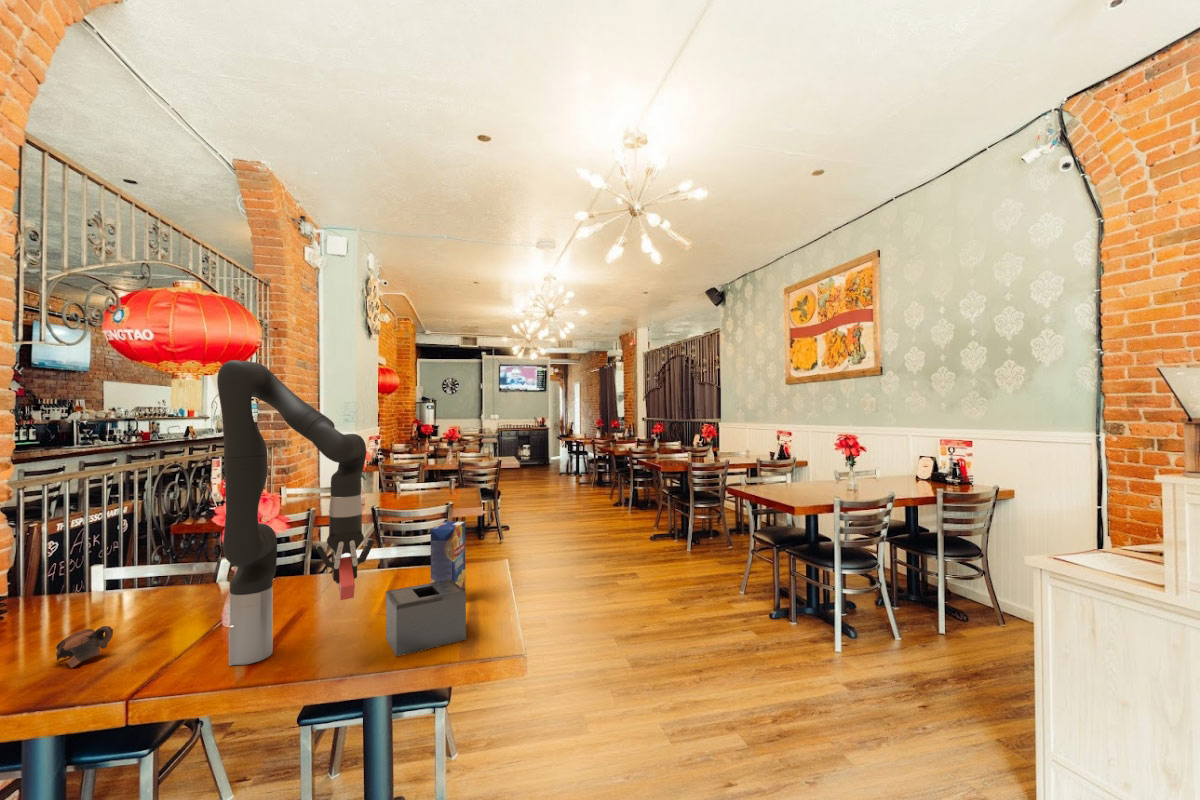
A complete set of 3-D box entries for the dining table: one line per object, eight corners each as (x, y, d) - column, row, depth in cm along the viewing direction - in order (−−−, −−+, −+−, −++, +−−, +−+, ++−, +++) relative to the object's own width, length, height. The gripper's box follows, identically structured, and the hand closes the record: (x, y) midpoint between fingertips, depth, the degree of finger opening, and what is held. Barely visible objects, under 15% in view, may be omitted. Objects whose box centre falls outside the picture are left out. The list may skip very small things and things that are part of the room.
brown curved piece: (55, 678, 128) (40, 651, 130) (83, 678, 137) (69, 652, 139) (109, 640, 133) (94, 614, 135) (133, 643, 141) (119, 618, 144)
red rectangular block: (341, 587, 130) (337, 558, 136) (340, 600, 132) (336, 571, 138) (354, 584, 131) (350, 556, 137) (353, 597, 134) (349, 569, 140)
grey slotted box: (396, 657, 136) (396, 605, 136) (386, 638, 147) (386, 591, 147) (465, 640, 145) (465, 592, 145) (451, 624, 156) (451, 579, 156)
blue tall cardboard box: (453, 604, 172) (452, 529, 172) (430, 603, 173) (430, 529, 173) (465, 591, 184) (465, 521, 184) (444, 591, 185) (444, 521, 185)
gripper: (315, 518, 129) (315, 590, 128) (377, 512, 136) (377, 580, 136) (313, 513, 135) (312, 582, 135) (372, 507, 143) (372, 573, 142)
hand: (345, 581), depth 135 cm, fingers closed on red rectangular block, 2 cm apart
